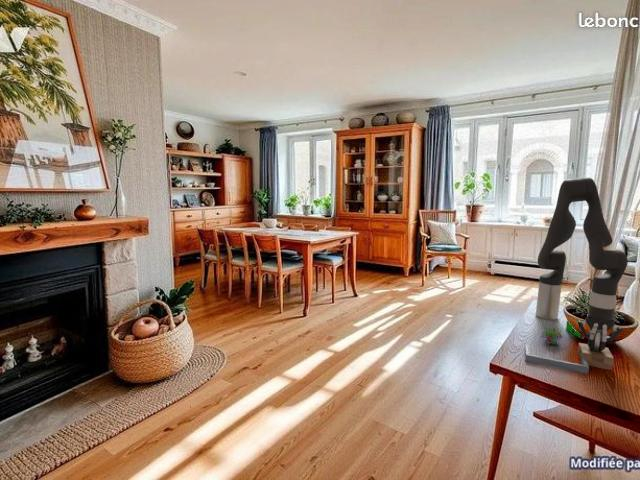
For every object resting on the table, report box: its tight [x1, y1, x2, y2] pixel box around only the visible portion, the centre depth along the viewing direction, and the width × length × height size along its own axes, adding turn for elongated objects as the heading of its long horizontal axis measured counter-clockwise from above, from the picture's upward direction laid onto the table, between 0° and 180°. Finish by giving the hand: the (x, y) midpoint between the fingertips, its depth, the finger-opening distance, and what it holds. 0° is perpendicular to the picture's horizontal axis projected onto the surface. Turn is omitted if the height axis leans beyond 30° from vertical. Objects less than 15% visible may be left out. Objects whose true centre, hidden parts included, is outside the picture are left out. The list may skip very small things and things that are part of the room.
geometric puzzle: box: [540, 327, 563, 347], centre depth 146 cm, size 7×7×8 cm
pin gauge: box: [592, 330, 602, 353], centre depth 132 cm, size 3×3×11 cm
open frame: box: [524, 343, 590, 375], centre depth 133 cm, size 10×19×2 cm, turn 62°
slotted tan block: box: [576, 342, 615, 371], centre depth 133 cm, size 9×9×4 cm
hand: (595, 348), depth 132 cm, fingers closed on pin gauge, 2 cm apart
